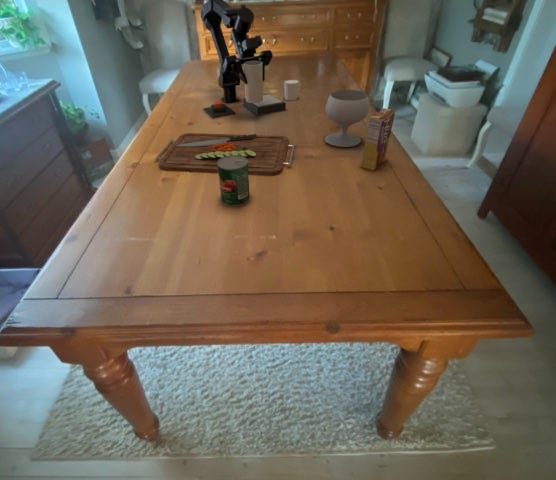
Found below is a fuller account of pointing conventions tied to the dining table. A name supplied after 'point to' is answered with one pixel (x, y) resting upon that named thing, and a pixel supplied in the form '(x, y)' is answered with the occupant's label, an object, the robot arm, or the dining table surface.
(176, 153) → the chopping board
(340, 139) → the chalice
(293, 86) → the shot glass
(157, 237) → the dining table surface
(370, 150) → the candy box
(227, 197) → the canned tomato
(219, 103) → the scale button
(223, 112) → the tare pad
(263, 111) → the scale
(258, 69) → the beaker
